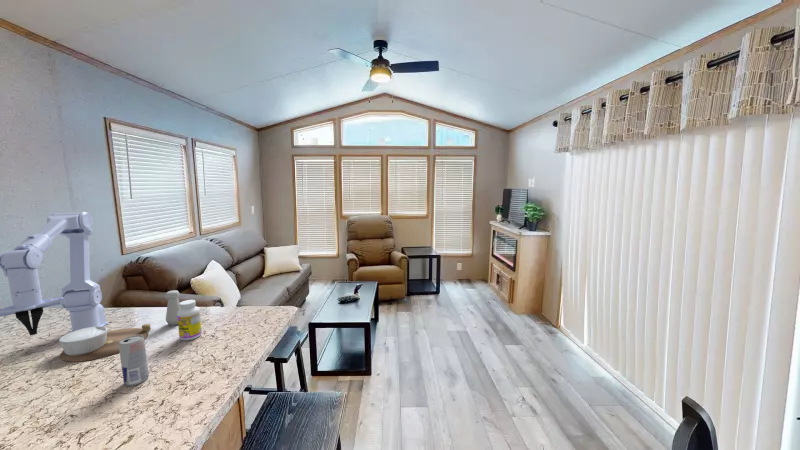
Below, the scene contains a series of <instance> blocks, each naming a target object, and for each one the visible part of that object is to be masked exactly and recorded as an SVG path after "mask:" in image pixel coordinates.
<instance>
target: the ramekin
mask: <svg viewBox="0 0 800 450" xmlns="http://www.w3.org/2000/svg"><path fill="white" fill-rule="evenodd" d="M70 332H71V331H70ZM107 332H109V329H108V327H106V326H103V327H102V326H97V327H89V328H84V329H80V330H77V331H74V332H71V333H69V332H67V333H66V334H64V335H63V336H61V337H60V338H59V339H58V342H59V344H60V345H61V348H62V351H63V350H64V352H65V353H66V354H67V355H71V356H76V355H83V354H87V353H90V352H93V351H95V350H98V349H100V348H101V347H103V346H104V344H105V343H106V338H107Z"/></svg>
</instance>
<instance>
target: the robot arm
mask: <svg viewBox="0 0 800 450" xmlns="http://www.w3.org/2000/svg"><path fill="white" fill-rule="evenodd" d="M93 220H94V219H93V218H92V216H91V215H90V213H88V211H81V212H78V211H77V212H76V211H75V212H51V213H50V214H49V216H47V217H46V224H45V225H44V227H43V228H42V229H41V230H40V231H39V232H38V233H33V234H31V233H30V234H28V235H27V236H26V238H25V239H24V240H23V241H21V242H20V243H19V244H18V245H16V247H14V248H13V249H12V250H6V251H5V252H3V253H1V254H0V269H1V270H2V271H3V275H4V277H6V278H7V281H8V287H9V290H10V291H9V292H10V298H11V304H12V305H10V306H7V307H2V308H0V318H2V317H6V316H11V315H15V318H16V319H17V320H18V321H19V322H20V323H21V324H23V326H24V327H25V328H26V331H28V334H29V336H34V335H38V327H39V324H40V323H39V322H40V321H41V320H40V319H41V318H42V315H43V313H44V309H45V308H49V307H54V306H59V305H60V306H61V307H62V308H63V309H65V310H66V311H67V312H69V319H70V325H71V331H70V332H68V333H71V332H74V331H77V330H80V329H84V328H89V327H97V326H102V327H106V325H108V324H109V321H107V319H106V314H105V308H104V306H103V304H101V302H102V300H103V293H102V291H101V285H100V284H98V283H96V282H95V281H93V280H91V275H90V274H91V267H90V266H91V265H90V260H91V259H90V236H91V235H93V233H94V232H93V231H94V223H93V222H94V221H93ZM59 235H60V236H64V237H67V239H69V267H70V270H69V272H70V273H69V275H70V276H69V277H70V279H69V280H70V281H69V283H67V285H65V286H64V287H63V288H61V295H60V296H59V297H52V298H48V299H43V295H42V290H41V284H40V283H41V282H40V278H39V272H38V267H40V266H41V264H42V260H43V258H44V254H45V253H46V252H47V251H48V250H50V248H51V247H53V244H54V243H53V240H54V239H55V238H56V237H57V236H59ZM30 316H31V318H30ZM31 322H32V323H31Z"/></svg>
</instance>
